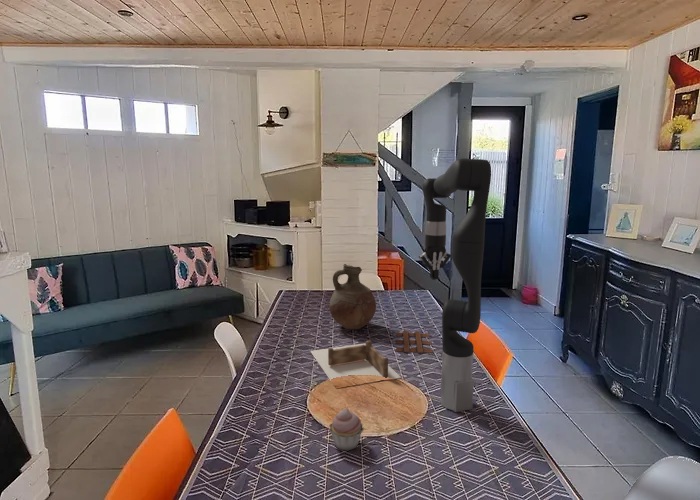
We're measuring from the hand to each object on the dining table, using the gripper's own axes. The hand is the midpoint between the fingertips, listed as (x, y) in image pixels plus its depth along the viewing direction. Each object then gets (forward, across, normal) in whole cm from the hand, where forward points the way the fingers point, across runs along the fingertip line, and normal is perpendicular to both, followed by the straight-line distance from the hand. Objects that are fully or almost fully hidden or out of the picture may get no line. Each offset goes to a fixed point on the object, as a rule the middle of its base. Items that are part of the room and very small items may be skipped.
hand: (434, 279), depth 168 cm
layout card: (+32, -30, +7) cm, 44 cm away
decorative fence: (+33, +2, +18) cm, 38 cm away
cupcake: (+32, -49, -40) cm, 71 cm away
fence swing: (+31, -32, +7) cm, 45 cm away
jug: (+32, -16, +45) cm, 58 cm away
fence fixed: (+32, -23, 0) cm, 39 cm away
